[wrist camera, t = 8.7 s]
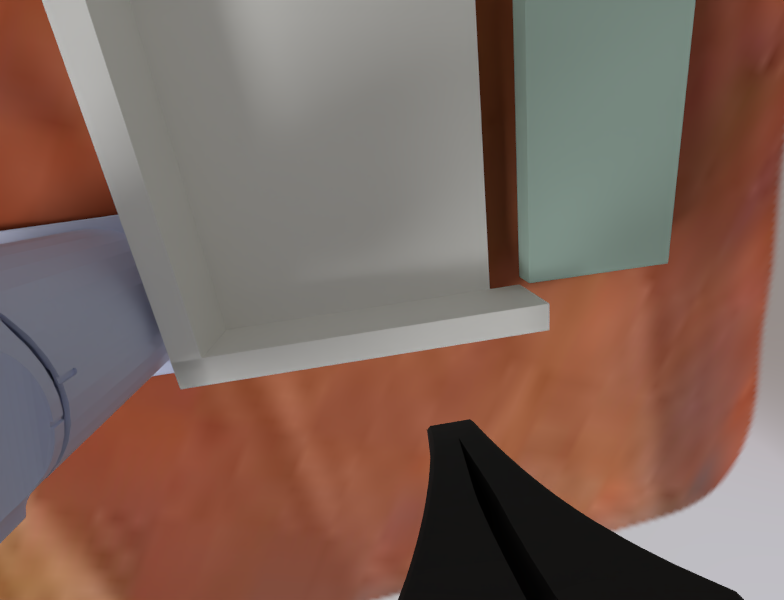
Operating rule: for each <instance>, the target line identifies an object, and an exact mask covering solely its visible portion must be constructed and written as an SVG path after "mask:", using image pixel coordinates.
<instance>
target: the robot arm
mask: <svg viewBox="0 0 784 600" xmlns="http://www.w3.org/2000/svg"><path fill="white" fill-rule="evenodd" d="M169 373H174V370H173V367H172V364H171V361H170V359H169V356H168V353H167V350H166V347H165V345H164V342H163V339H162V336H161V333H160V330H159V328H158V325H157V322H156V319H155V316H154V314H153V311H152V308H151V305H150V302H149V300H148V297H147V294H146V291H145V288H144V286H143V283H142V280H141V277H140V274H139V271H138V269H137V266H136V263H135V260H134V257H133V255H132V252H131V249H130V246H129V243H128V241H127V238H126V235H125V232H124V229H123V227H122V224H121V221H120V218H119V215H112V216H105V217H97V218H90V219H83V220H76V221H69V222H61V223H54V224H47V225H40V226H32V227H25V228H18V229H11V230H4V231H0V543H1V542H2V541H3V540H4V539H5V538H6V537H7V536H8V535H9V534H10V533H11V532H12V531H13V530H14V529H15V528H16V527H17V526H18V525H19V524H20V523H21V522H22V521H23V519H24V518H25V517H26V503H27V500H28V498H29V496H30V494H31V493H32V492H33V491H34V489H35V488H36V487H37V486H38V485H39V484H40V483H41V482H42V481H43V480H44V479H45V478H47V477H48V476H49V475H50V474H51V473H52V472H53V471H54V470H55V469H56V468H57V467H58V466H59V465H60V464H61V463H62V462H64V461H65V460H66V459H67V458H68V457H69V456H70V455H71V454H72V453H73V452H74V451H75V450H76V449H77V448H78V447H79V446H80V445H81V444H82V443H83V442H84V441H85V440H86V439H87V438H88V437H89V436H91V435H92V434H93V433H94V432H95V431H96V430H97V429H98V428H99V427H100V426H101V425H102V424H103V423H104V422H105V421H106V420H107V419H108V418H109V417H110V416H111V415H112V414H113V413H114V412H115V411H116V410H117V409H119V408H120V407H121V406H122V405H123V404H124V403H125V402H126V401H127V400H128V399H129V398H130V397H131V396H132V395H133V394H134V393H135V392H136V391H137V390H138V389H139V388H140V387H141V386H142V385H143V384H144V383H146V382H147V381H148V380H149V379H150V378H151V377H152V376H157V375H163V374H169ZM427 432H428V440H429V449H430V473H429V483H428V490H427V497H426V503H425V509H424V514H423V519H422V524H421V528H420V532H419V536H418V540H417V543H416V547H415V551H414V554H413V558H412V561H411V564H410V568H409V571H408V574H407V577H406V579H405V582H404V585H403V588H402V590H401V593H400V596H399V599H398V600H744V599H743V598H742V597H741V596H740V595H739V594H738V593H737V592H735V591H733V590H731V589H729V588H727V587H724V586H722V585H720V584H717V583H715V582H713V581H710V580H708V579H706V578H704V577H702V576H699V575H697V574H695V573H693V572H690V571H688V570H686V569H684V568H681V567H679V566H677V565H675V564H673V563H671V562H669V561H667V560H665V559H663V558H661V557H659V556H657V555H655V554H653V553H651V552H649V551H647V550H645V549H643V548H641V547H639V546H637V545H635V544H633V543H632V542H630V541H628V540H626V539H624V538H623V537H621V536H619V535H617V534H616V533H614V532H612V531H611V530H609V529H607V528H605V527H604V526H602V525H600V524H599V523H597V522H595V521H593V520H592V519H590V518H589V517H587V516H585V515H584V514H582V513H581V512H579V511H578V510H576V509H575V508H573V507H572V506H570V505H569V504H567V503H566V502H565V501H563V500H562V499H560V498H559V497H558V496H556V495H555V494H553V493H552V492H551V491H549V490H548V489H547V488H545V487H544V486H543V485H542V484H540V483H539V482H538V481H537V480H535V479H534V478H533V477H532V476H530V475H529V474H528V473H527V472H526V471H524V470H523V469H522V468H521V467H520V466H519V465H517V464H516V463H515V462H514V461H513V460H512V459H511V458H510V457H508V456H507V455H506V454H505V453H504V452H503V451H502V450H501V449H500V448H499V447H498V446H497V445H496V444H495V443H494V442H493V441H492V440H490V439H489V438H488V437H487V436H486V435H485V433H484V432H483V431H482V430H481V429H480V428H479V427H478V426H477V425H476V424H475V423H474V422H473V421H471V420H470V419H469V420H463V421H457V422H452V423H446V424H440V425H434V426H430V427H429V428H428V430H427Z"/></svg>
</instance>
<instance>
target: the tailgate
mask: <svg viewBox="0 0 784 600" xmlns="http://www.w3.org/2000/svg"><path fill="white" fill-rule="evenodd" d="M695 1H696V0H513V34H514V76H515V118H516V160H517V202H518V244H519V277H521V278H522V279H524V280H525V281H527V282H528V283H534V282H541V281H548V280H555V279H562V278H569V277H576V276H583V275H589V274H596V273H603V272H610V271H617V270H624V269H631V268H638V267H645V266H652V265H659V264H666V263H668V258H669V248H670V239H671V229H672V220H673V210H674V201H675V191H676V181H677V172H678V162H679V153H680V143H681V134H682V124H683V115H684V105H685V96H686V86H687V77H688V67H689V58H690V48H691V39H692V29H693V20H694V10H695Z"/></svg>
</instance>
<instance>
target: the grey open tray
mask: <svg viewBox="0 0 784 600" xmlns="http://www.w3.org/2000/svg"><path fill="white" fill-rule="evenodd" d="M42 2H43V5H44V7H45V10H46V13H47V16H48V19H49V21H50V24H51V27H52V30H53V33H54V36H55V38H56V41H57V44H58V47H59V50H60V52H61V55H62V58H63V61H64V64H65V66H66V69H67V72H68V75H69V78H70V80H71V83H72V86H73V89H74V92H75V95H76V97H77V100H78V103H79V106H80V109H81V111H82V114H83V117H84V120H85V123H86V125H87V128H88V131H89V134H90V137H91V139H92V142H93V145H94V148H95V151H96V153H97V156H98V159H99V162H100V165H101V168H102V170H103V173H104V176H105V179H106V182H107V184H108V187H109V190H110V193H111V196H112V198H113V201H114V204H115V207H116V210H117V212H118V215H119V218H120V221H121V224H122V227H123V229H124V232H125V235H126V238H127V241H128V243H129V246H130V249H131V252H132V255H133V257H134V260H135V263H136V266H137V269H138V271H139V274H140V277H141V280H142V283H143V286H144V288H145V291H146V294H147V297H148V300H149V302H150V305H151V308H152V311H153V314H154V316H155V319H156V322H157V325H158V328H159V330H160V333H161V336H162V339H163V342H164V345H165V347H166V350H167V353H168V356H169V359H170V361H171V364H172V367H173V370H174V373H175V375H176V378H177V381H178V384H179V387H180V389H185V388H192V387H198V386H204V385H210V384H216V383H223V382H229V381H235V380H241V379H248V378H254V377H260V376H266V375H272V374H279V373H285V372H291V371H297V370H304V369H310V368H316V367H322V366H328V365H335V364H341V363H347V362H353V361H360V360H366V359H372V358H378V357H384V356H391V355H397V354H403V353H409V352H416V351H422V350H428V349H434V348H440V347H447V346H453V345H459V344H465V343H472V342H478V341H484V340H490V339H497V338H503V337H509V336H515V335H521V334H528V333H534V332H540V331H546V330H549V303H548V302H546V301H544V300H543V299H541V298H540V297H538V296H537V295H535V294H534V293H532V292H530V291H529V290H527V289H526V288H524V287H523V286H521V285H520V284H519V285H513V286H506V287H500V288H493V289H490V285H489V265H488V245H487V225H486V205H485V185H484V165H483V145H482V126H481V106H480V86H479V66H478V46H477V26H476V6H475V0H42Z"/></svg>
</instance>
